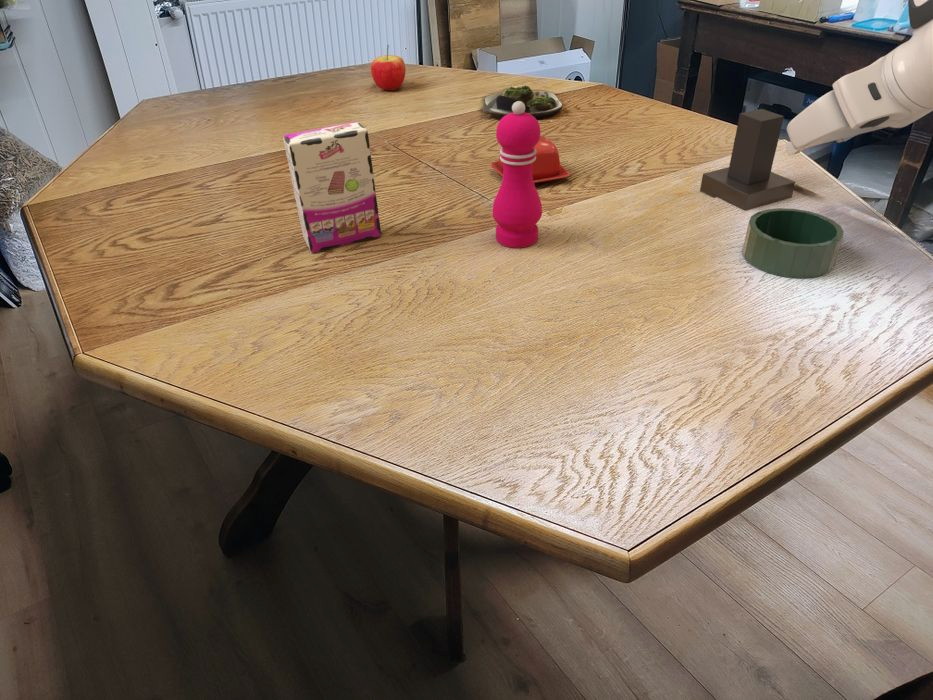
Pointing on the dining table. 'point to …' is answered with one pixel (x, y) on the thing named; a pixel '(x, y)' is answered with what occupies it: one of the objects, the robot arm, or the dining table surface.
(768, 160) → the dark brown block
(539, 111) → the salad plate
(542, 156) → the butter dish
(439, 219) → the dining table surface
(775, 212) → the tin
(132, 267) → the dining table surface
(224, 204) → the dining table surface
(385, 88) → the apple
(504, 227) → the pepper mill
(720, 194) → the stand
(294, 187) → the candy bar box
